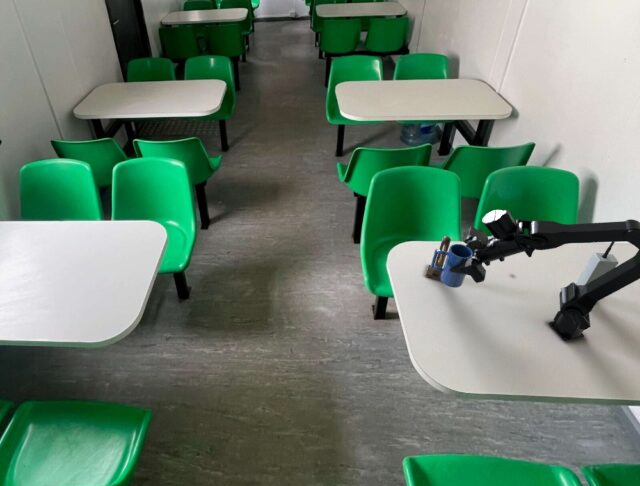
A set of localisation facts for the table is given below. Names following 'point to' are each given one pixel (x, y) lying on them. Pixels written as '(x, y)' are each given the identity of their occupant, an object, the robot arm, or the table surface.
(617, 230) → the robot arm
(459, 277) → the mug
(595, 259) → the vintage mobile phone
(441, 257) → the mug rack
